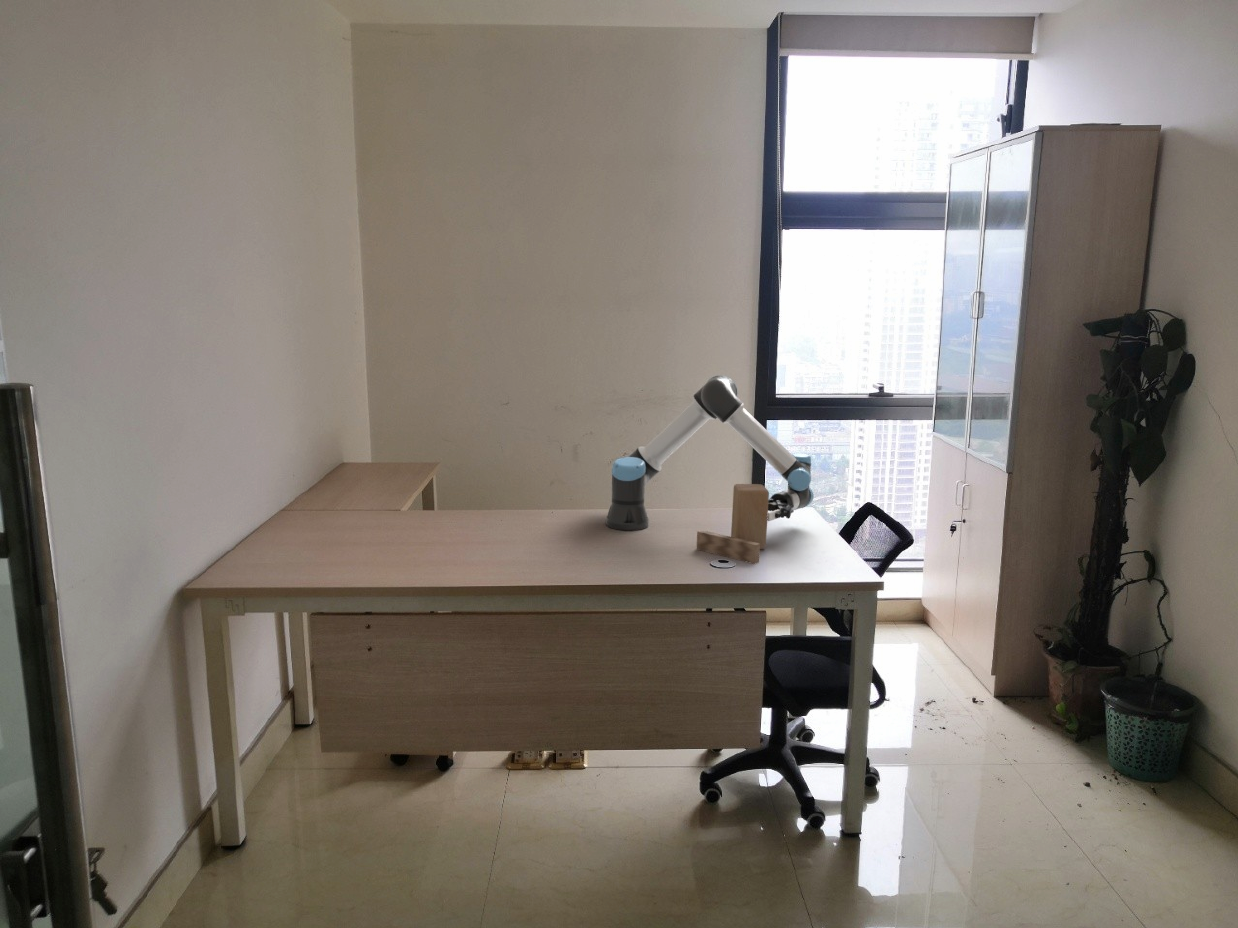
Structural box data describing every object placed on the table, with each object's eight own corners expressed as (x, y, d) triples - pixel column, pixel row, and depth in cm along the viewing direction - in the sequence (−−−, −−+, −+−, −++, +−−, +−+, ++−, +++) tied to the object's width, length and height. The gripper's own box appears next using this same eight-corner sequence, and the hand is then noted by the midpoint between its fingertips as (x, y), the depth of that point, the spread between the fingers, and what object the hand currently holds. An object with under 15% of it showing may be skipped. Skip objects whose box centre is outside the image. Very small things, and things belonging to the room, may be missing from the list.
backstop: (696, 549, 290) (697, 531, 289) (700, 547, 292) (701, 529, 291) (754, 563, 277) (755, 545, 275) (759, 562, 278) (760, 543, 277)
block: (766, 550, 291) (769, 490, 287) (735, 550, 290) (739, 490, 286) (759, 541, 301) (763, 483, 297) (730, 541, 300) (733, 483, 296)
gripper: (815, 519, 303) (783, 531, 287) (752, 506, 319) (719, 517, 303) (816, 498, 302) (784, 508, 286) (753, 486, 317) (720, 495, 301)
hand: (751, 513), depth 294 cm, fingers closed on block, 13 cm apart
